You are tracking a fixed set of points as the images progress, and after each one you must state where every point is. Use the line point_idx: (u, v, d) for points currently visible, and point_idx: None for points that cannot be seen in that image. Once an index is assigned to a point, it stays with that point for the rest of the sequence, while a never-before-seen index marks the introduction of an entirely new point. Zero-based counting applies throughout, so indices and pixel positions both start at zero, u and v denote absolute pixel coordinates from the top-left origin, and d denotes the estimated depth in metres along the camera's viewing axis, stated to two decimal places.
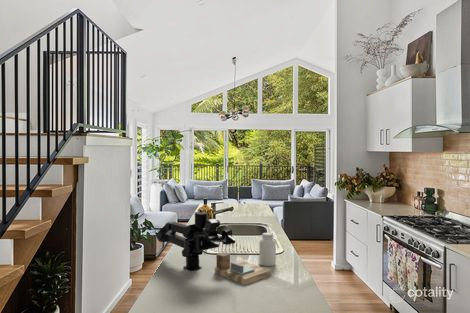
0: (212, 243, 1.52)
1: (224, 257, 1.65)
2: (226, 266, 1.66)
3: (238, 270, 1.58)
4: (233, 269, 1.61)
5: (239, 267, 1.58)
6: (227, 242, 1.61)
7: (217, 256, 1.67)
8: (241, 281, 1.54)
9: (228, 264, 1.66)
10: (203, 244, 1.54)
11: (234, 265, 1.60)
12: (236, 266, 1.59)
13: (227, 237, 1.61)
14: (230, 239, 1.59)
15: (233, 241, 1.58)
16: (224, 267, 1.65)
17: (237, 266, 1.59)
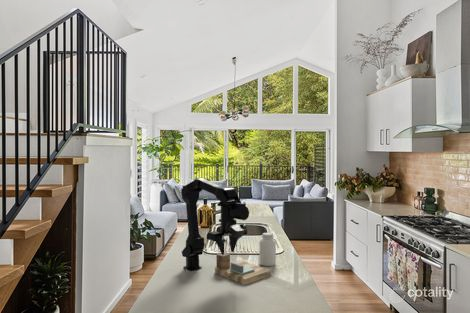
0: (221, 248, 1.53)
1: (224, 257, 1.65)
2: (226, 266, 1.66)
3: (238, 270, 1.58)
4: (233, 269, 1.61)
5: (239, 267, 1.58)
6: (230, 238, 1.59)
7: (217, 256, 1.67)
8: (241, 281, 1.54)
9: (228, 264, 1.66)
10: None
11: (234, 265, 1.60)
12: (236, 266, 1.59)
13: (233, 239, 1.58)
14: (232, 245, 1.58)
15: (232, 250, 1.58)
16: (224, 267, 1.65)
17: (237, 266, 1.59)
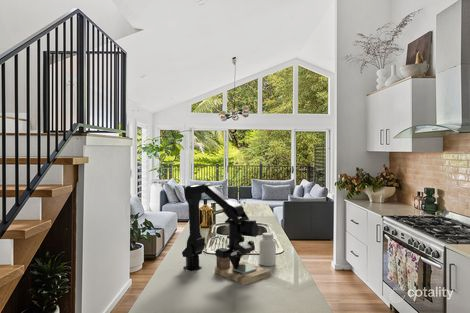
0: (234, 263, 1.58)
1: None
2: (226, 266, 1.66)
3: (240, 269, 1.59)
4: None
5: (241, 266, 1.59)
6: None
7: (217, 256, 1.67)
8: (241, 281, 1.54)
9: (228, 264, 1.66)
10: None
11: None
12: (238, 265, 1.60)
13: (237, 257, 1.59)
14: None
15: None
16: (224, 267, 1.65)
17: (239, 265, 1.60)
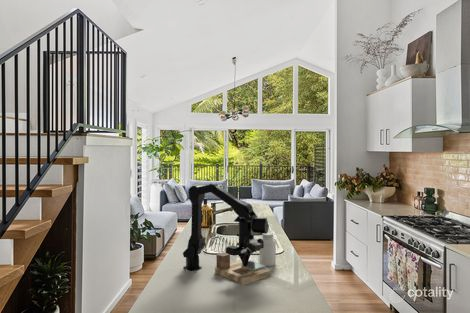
0: (244, 260, 1.62)
1: (224, 257, 1.65)
2: (226, 266, 1.66)
3: (250, 266, 1.63)
4: None
5: (251, 263, 1.62)
6: None
7: (217, 256, 1.67)
8: (241, 281, 1.54)
9: (228, 264, 1.66)
10: None
11: None
12: None
13: (247, 254, 1.63)
14: None
15: None
16: (224, 267, 1.65)
17: (249, 263, 1.63)
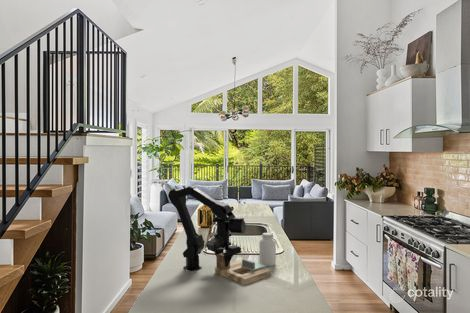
0: None
1: (224, 257, 1.65)
2: None
3: (250, 266, 1.63)
4: (245, 265, 1.65)
5: (251, 263, 1.62)
6: None
7: (217, 256, 1.67)
8: (241, 281, 1.54)
9: None
10: None
11: (246, 262, 1.65)
12: (247, 262, 1.64)
13: None
14: None
15: None
16: (224, 267, 1.65)
17: (249, 263, 1.63)
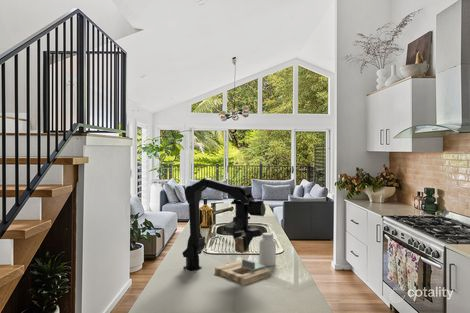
0: None
1: (243, 240, 1.59)
2: None
3: (250, 266, 1.63)
4: (245, 265, 1.65)
5: (251, 263, 1.62)
6: None
7: (236, 239, 1.61)
8: (241, 281, 1.54)
9: None
10: None
11: (246, 262, 1.65)
12: (247, 262, 1.64)
13: None
14: None
15: None
16: (243, 251, 1.60)
17: (249, 263, 1.63)
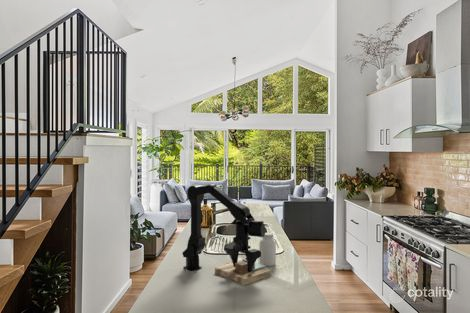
0: None
1: (243, 266, 1.60)
2: None
3: None
4: None
5: None
6: None
7: (236, 265, 1.62)
8: (241, 281, 1.54)
9: None
10: None
11: None
12: None
13: None
14: None
15: None
16: None
17: None
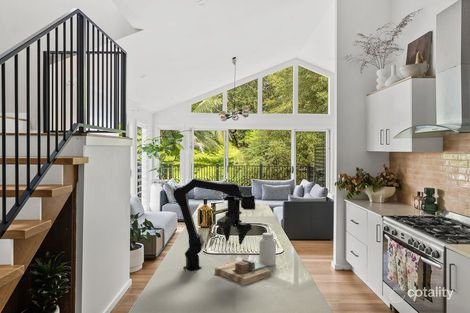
0: None
1: (243, 266, 1.60)
2: None
3: (250, 266, 1.63)
4: None
5: (251, 263, 1.62)
6: None
7: (236, 265, 1.62)
8: (241, 281, 1.54)
9: None
10: None
11: None
12: (247, 262, 1.64)
13: None
14: None
15: None
16: None
17: (249, 263, 1.63)
